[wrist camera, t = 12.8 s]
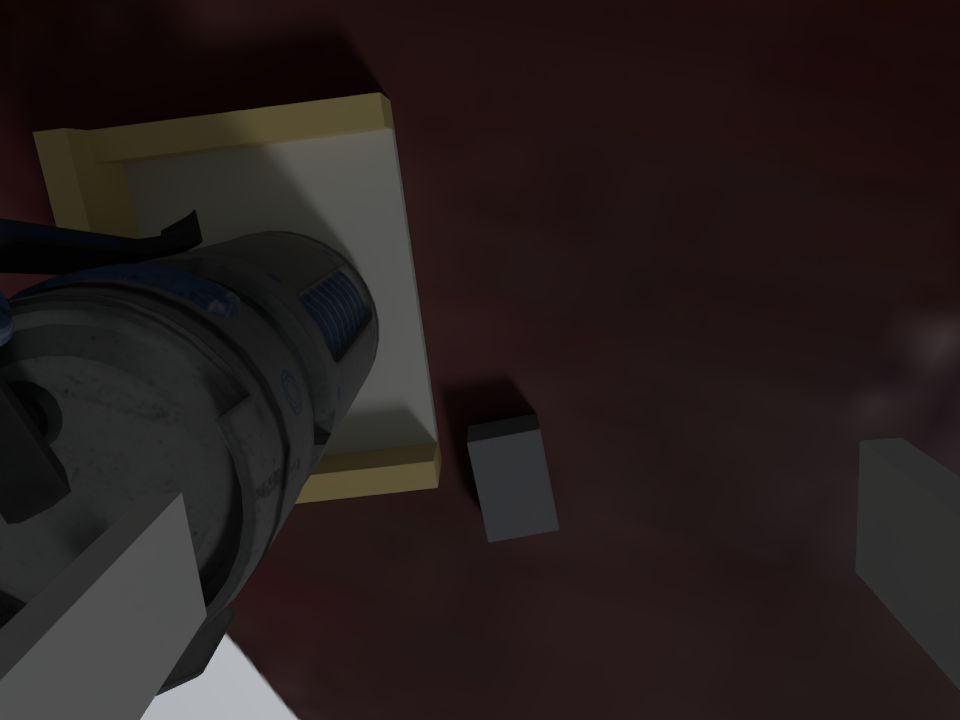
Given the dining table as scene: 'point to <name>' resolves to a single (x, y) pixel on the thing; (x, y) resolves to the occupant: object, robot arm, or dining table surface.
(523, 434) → the gray rectangular block
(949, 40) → the dining table surface
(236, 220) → the dock bay
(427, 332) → the dining table surface
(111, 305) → the beverage bottle
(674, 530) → the dining table surface
